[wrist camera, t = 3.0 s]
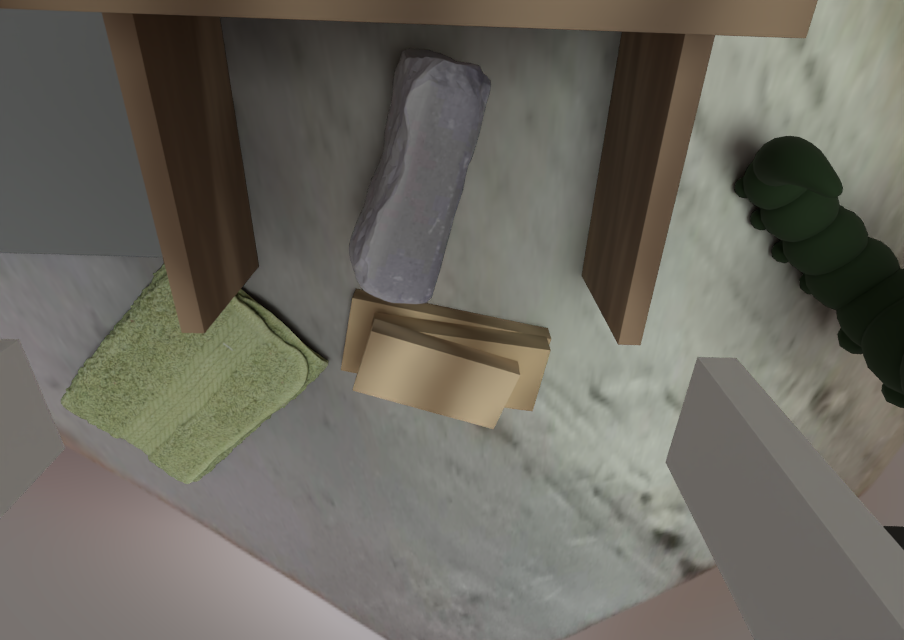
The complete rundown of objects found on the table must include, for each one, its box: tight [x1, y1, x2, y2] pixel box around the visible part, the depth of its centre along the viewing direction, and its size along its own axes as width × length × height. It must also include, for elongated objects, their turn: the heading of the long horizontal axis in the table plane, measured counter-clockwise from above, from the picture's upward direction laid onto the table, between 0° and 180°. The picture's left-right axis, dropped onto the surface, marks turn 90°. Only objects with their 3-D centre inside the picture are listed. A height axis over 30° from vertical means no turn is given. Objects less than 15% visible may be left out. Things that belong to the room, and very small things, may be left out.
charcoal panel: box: [0, 9, 163, 257], centre depth 30 cm, size 14×18×1 cm
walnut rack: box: [0, 0, 818, 345], centre depth 25 cm, size 24×16×15 cm, turn 88°
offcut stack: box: [341, 289, 551, 429], centre depth 37 cm, size 14×6×5 cm, turn 77°
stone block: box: [349, 48, 491, 304], centre depth 28 cm, size 12×5×10 cm, turn 162°
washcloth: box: [61, 264, 329, 484], centre depth 39 cm, size 13×18×3 cm
